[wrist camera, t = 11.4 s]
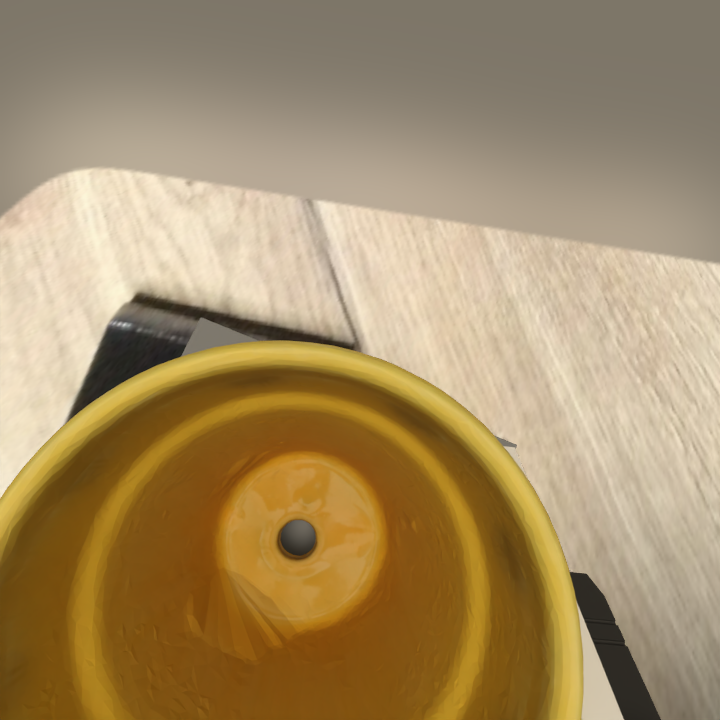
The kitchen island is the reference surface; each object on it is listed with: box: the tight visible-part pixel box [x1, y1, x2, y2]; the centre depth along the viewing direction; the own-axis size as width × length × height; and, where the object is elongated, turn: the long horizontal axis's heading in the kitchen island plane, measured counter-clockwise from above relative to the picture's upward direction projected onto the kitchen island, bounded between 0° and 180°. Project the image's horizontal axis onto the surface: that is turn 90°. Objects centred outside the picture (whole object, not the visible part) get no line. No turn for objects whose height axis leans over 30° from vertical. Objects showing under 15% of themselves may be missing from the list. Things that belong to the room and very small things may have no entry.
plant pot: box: [0, 341, 584, 720], centre depth 12 cm, size 10×10×10 cm
